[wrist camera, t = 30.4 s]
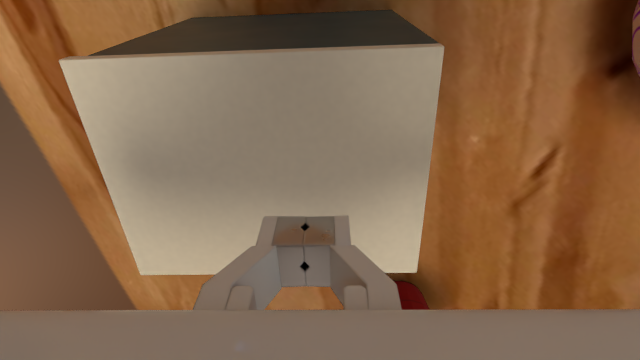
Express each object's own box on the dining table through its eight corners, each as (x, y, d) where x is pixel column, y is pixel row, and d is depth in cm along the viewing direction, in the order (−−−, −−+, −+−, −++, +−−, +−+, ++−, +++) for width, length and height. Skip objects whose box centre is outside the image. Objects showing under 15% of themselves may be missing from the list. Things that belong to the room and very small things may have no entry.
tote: (219, 160, 35) (158, 266, 22) (191, 17, 29) (85, 55, 16) (384, 156, 34) (414, 263, 22) (392, 9, 28) (440, 42, 16)
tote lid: (145, 267, 22) (140, 275, 22) (68, 56, 16) (57, 59, 16) (414, 264, 22) (417, 273, 21) (440, 43, 16) (444, 46, 15)
